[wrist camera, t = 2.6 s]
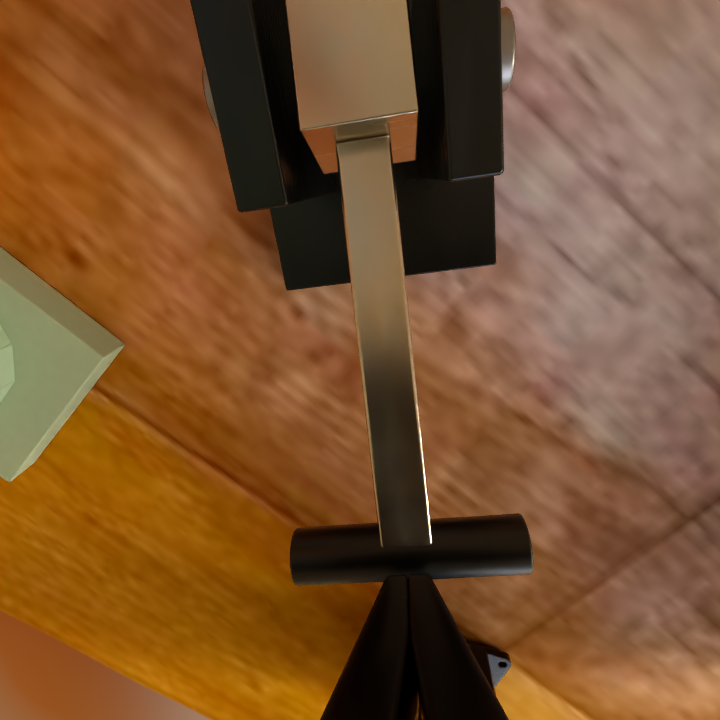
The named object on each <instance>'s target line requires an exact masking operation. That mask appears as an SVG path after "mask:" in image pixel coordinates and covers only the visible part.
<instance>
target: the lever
mask: <svg viewBox="0 0 720 720" xmlns="http://www.w3.org/2000/svg"><path fill="white" fill-rule="evenodd" d="M284 5H285V14H286V22H287V31H288V39H289V48H290V56H291V65H292V73H293V82H294V90H295V99H296V108H297V116H298V125H299V130H300V132H301V134H302V136H303V137H304V139H305V141H306V143H307V145H308V147H309V148H310V150H311V152H312V154H313V156H314V158H315V160H316V161H317V163H318V165H319V167H320V169H321V171H322V172H323V174H327V173H333V172H338V174H339V183H340V192H341V201H342V210H343V219H344V227H345V236H346V245H347V254H348V263H349V272H350V281H351V290H352V299H353V308H354V316H355V325H356V334H357V343H358V352H359V361H360V370H361V379H362V388H363V396H364V405H365V414H366V423H367V432H368V441H369V450H370V459H371V468H372V477H373V485H374V494H375V503H376V512H377V521H378V523H363V524H348V525H332V526H317V527H302V528H297V529H296V530H295V531H294V533H293V536H292V540H291V546H290V569H291V575H292V579H293V582H294V583H295V585H297V586H310V585H330V584H350V583H370V582H384V581H385V579H386V577H387V576H389V575H406V576H407V577H409V575H411V574H424V573H426V574H429V575H430V577H431V578H432V579H450V578H469V577H489V576H509V575H529V574H531V573H532V571H533V552H532V545H531V540H530V535H529V531H528V528H527V525H526V522H525V520H524V518H523V516H522V515H521V514H502V515H487V516H471V517H456V518H440V519H430V509H429V500H428V490H427V481H426V471H425V461H424V452H423V442H422V433H421V423H420V414H419V404H418V394H417V385H416V375H415V366H414V356H413V347H412V337H411V327H410V318H409V308H408V299H407V289H406V280H405V270H404V261H403V251H402V241H401V232H400V222H399V213H398V203H397V194H396V184H395V174H394V165H393V163H399V162H405V161H412V160H415V159H416V156H417V140H418V124H419V101H418V91H417V81H416V71H415V61H414V51H413V41H412V31H411V21H410V11H409V1H408V0H284Z"/></svg>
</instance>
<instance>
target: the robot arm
mask: <svg viewBox="0 0 720 720" xmlns="http://www.w3.org/2000/svg"><path fill="white" fill-rule="evenodd" d="M510 667H511V661H510V657H509V655H508V654H507V653H505V652H502V651H499V650H496V649H493V648H489V647H486V646H483V645H480V644H477V643H474V642H471V641H467V640H465V639H464V637H463V635H462V633H461V631H460V630H459V628H458V626H457V624H456V622H455V620H454V619H453V617H452V615H451V613H450V611H449V609H448V608H447V606H446V604H445V602H444V600H443V598H442V597H441V595H440V593H439V591H438V589H437V587H436V586H435V584H434V582H433V580H432V578H431V577H430V575H429V574H426V573H424V574H411V575H409V577H407V576H406V575H389V576H387V577H386V579H385V581H384V583H383V585H382V587H381V589H380V592H379V594H378V596H377V598H376V600H375V602H374V605H373V607H372V609H371V611H370V613H369V615H368V618H367V620H366V622H365V624H364V626H363V628H362V630H361V633H360V635H359V637H358V639H357V641H356V643H355V646H354V648H353V650H352V652H351V654H350V656H349V659H348V661H347V663H346V665H345V667H344V669H343V671H342V674H341V676H340V678H339V680H338V682H337V684H336V687H335V689H334V691H333V693H332V695H331V697H330V700H329V702H328V704H327V706H326V708H325V710H324V712H323V715H322V717H321V719H320V720H509V719H508V717H507V716H506V714H505V712H504V710H503V708H502V706H501V705H500V703H499V701H498V699H497V697H496V693H495V686H496V685H497V684H498V682H499V681H500V680H501V679H502V677H503V676H504V675H505V673H506V672H507V671H508V670H509V668H510Z"/></svg>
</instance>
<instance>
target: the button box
mask: <svg viewBox="0 0 720 720" xmlns="http://www.w3.org/2000/svg"><path fill="white" fill-rule="evenodd" d="M124 345H125V344H124V343H123V342H122V341H120V340H119V339H118V338H117V337H115V336H114V335H113V334H111V333H110V332H109V331H108V330H106V329H105V328H104V327H102V326H101V325H100V324H99V323H97V322H96V321H95V320H93V319H92V318H91V317H90V316H88V315H87V314H86V313H84V312H83V311H82V310H81V309H79V308H78V307H77V306H75V305H74V304H73V303H72V302H70V301H69V300H68V299H67V298H65V297H64V296H63V295H61V294H60V293H59V292H58V291H56V290H55V289H54V288H52V287H51V286H50V285H49V284H47V283H46V282H45V281H43V280H42V279H41V278H40V277H38V276H37V275H36V274H34V273H33V272H32V271H31V270H29V269H28V268H27V267H25V266H24V265H23V264H22V263H20V262H19V261H18V260H17V259H15V258H14V257H13V256H11V255H10V254H9V253H8V252H6V251H5V250H4V249H2V248H1V247H0V477H1V478H3V479H4V480H6V481H7V482H11V481H12V480H13V479H15V478H16V477H17V476H18V475H20V474H21V473H22V472H23V471H25V470H26V469H27V468H28V467H30V466H31V465H32V464H33V463H35V461H36V460H37V459H38V457H39V456H40V455H41V453H42V452H43V451H44V450H45V448H46V447H47V446H48V444H49V443H50V442H51V440H52V439H53V438H54V437H55V435H56V434H57V433H58V431H59V430H60V429H61V427H62V426H63V425H64V424H65V422H66V421H67V420H68V418H69V417H70V416H71V415H72V413H73V412H74V411H75V409H76V408H77V407H78V405H79V404H80V403H81V402H82V400H83V399H84V398H85V396H86V395H87V394H88V392H89V391H90V390H91V389H92V387H93V386H94V385H95V383H96V382H97V381H98V379H99V378H100V377H101V376H102V374H103V373H104V372H105V370H106V369H107V368H108V366H109V365H110V364H111V363H112V361H113V360H114V359H115V357H116V356H117V355H118V354H119V352H120V351H121V350H122V348H123V347H124Z"/></svg>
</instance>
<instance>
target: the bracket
mask: <svg viewBox="0 0 720 720" xmlns="http://www.w3.org/2000/svg"><path fill="white" fill-rule="evenodd" d="M408 1H409V11H410V21H411V31H412V41H413V51H414V61H415V71H416V81H417V91H418V101H419V124H418V140H417V156H416V159H415V160H412V161H405V162H399V163H393V165H394V174H395V184H396V194H397V203H398V213H399V222H400V232H401V241H402V251H403V261H404V270H405V276H409V275H417V274H425V273H433V272H441V271H449V270H457V269H465V268H473V267H481V266H489V265H495V264H496V237H495V198H494V176H496V175H500V174H502V173H503V171H504V144H503V93H504V92H506V91H507V90H508V89H509V87H510V84H511V81H512V77H513V73H514V66H515V54H516V34H515V24H514V18H513V14H512V11H511V9H510V8H508V7H503V8H501V0H408ZM190 2H191V7H192V11H193V16H194V20H195V24H196V29H197V33H198V38H199V42H200V46H201V51H202V55H203V60H204V64H205V65H204V67H203V71H202V80H203V89H204V94H205V98H206V102H207V106H208V109H209V112H210V114H211V117H212V119H213V122H214V124H215V126H216V127H217V129H218V131H219V132H220V134H221V139H222V143H223V147H224V152H225V156H226V161H227V165H228V169H229V174H230V178H231V183H232V187H233V191H234V196H235V200H236V205H237V209H238V211H239V212H241V213H242V212H249V211H256V210H263V209H270V212H271V217H272V222H273V227H274V232H275V237H276V242H277V246H278V251H279V256H280V261H281V266H282V271H283V276H284V281H285V286H286V290H296V289H304V288H312V287H320V286H328V285H336V284H344V283H351V281H350V272H349V263H348V254H347V245H346V236H345V227H344V219H343V210H342V201H341V192H340V183H339V174H338V172H333V173H327V174H323V172H322V171H321V169H320V167H319V165H318V163H317V161H316V160H315V158H314V156H313V154H312V152H311V150H310V148H309V147H308V145H307V143H306V141H305V139H304V137H303V136H302V134H301V132H300V130H299V125H298V116H297V108H296V99H295V90H294V82H293V73H292V65H291V56H290V48H289V39H288V31H287V22H286V14H285V5H284V0H190Z"/></svg>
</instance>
